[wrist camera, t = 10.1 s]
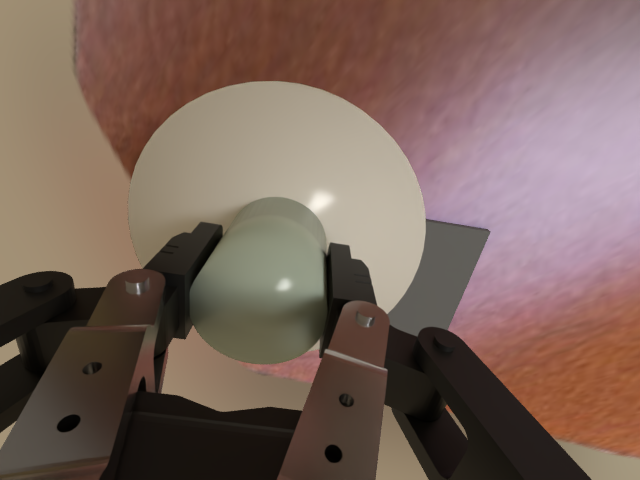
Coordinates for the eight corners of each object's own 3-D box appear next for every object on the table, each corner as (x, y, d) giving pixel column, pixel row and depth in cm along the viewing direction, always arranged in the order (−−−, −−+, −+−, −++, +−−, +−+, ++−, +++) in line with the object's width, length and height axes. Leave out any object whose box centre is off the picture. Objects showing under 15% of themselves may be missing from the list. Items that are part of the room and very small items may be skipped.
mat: (487, 229, 32) (490, 231, 32) (440, 337, 38) (442, 341, 38) (347, 205, 31) (347, 208, 31) (321, 321, 37) (321, 324, 37)
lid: (458, 113, 12) (553, 138, 7) (379, 350, 18) (402, 461, 12) (132, 51, 12) (-19, 29, 7) (150, 317, 17) (74, 422, 12)
